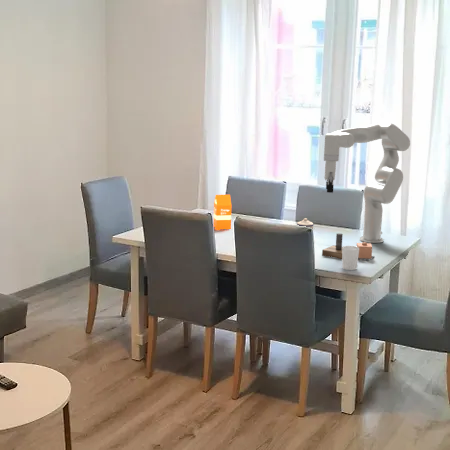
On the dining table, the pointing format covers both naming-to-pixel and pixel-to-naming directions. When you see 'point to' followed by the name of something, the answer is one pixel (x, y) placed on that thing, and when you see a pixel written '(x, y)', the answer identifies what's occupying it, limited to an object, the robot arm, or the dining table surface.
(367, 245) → the peach cube
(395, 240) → the dining table surface
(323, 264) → the dining table surface
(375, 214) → the robot arm
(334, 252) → the post base
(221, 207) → the orange juice
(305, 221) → the teacup with lid
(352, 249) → the white cup
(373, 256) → the coaster
